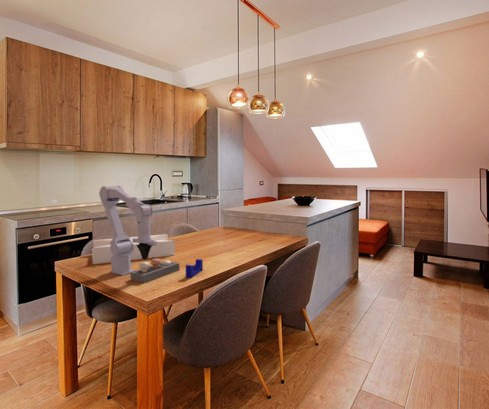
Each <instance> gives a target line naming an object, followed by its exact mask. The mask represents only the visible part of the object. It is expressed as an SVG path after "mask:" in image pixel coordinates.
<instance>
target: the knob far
mask: <svg viewBox="0 0 489 409" xmlns="http://www.w3.org/2000/svg"><path fill="white" fill-rule="evenodd" d="M161 262H162V265H163V266H168V265H171V262H172V260H168V259H166V260H162V261H161Z"/></svg>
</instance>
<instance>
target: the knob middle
mask: <svg viewBox="0 0 489 409" xmlns="http://www.w3.org/2000/svg"><path fill="white" fill-rule="evenodd" d="M160 263H161V258H158V257H155V258H152V259H150V266H152V265H153V269H154V270H157V269H158V265H159V264H160Z"/></svg>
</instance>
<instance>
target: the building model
mask: <svg viewBox="0 0 489 409" xmlns="http://www.w3.org/2000/svg"><path fill="white" fill-rule="evenodd" d="M129 237H130V239H131V241H132V239H133V238H138V236H129ZM112 239H113V238H106V239H105V238H104V239H93V240H92V241H93V242H92V243H93V244H92V245H93V246H92V248H91V255H92V256H91V258H92V264H93V265H98V264H105V263H107V264H108V263H111V258H112V256H113V254H112V253H111V245H110V242H111V240H112ZM151 239H152V240H154V241H157V245H156V246H152V247H151V249H150V251H149V255H148V259H151V258H152V257H154V258H160V257H162V256H163V257H172V256H175V255H176V251H175V248H176V247H175V244H176V243H175V240H169V234H168V233H166V234H155V235H154V234H153V235H151ZM118 243H119V242H118ZM132 243H133V241H132ZM133 245H134V249H133V251H132V254H130V258H131V261H134V260H135V261H136V260H143V259H142V256H141V253H140V251H139V249H138V247H137V245H139V243H133ZM171 255H172V256H171ZM163 257H162V258H163ZM152 259H153V258H152Z"/></svg>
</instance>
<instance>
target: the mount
mask: <svg viewBox="0 0 489 409" xmlns="http://www.w3.org/2000/svg"><path fill="white" fill-rule="evenodd" d="M178 271H180V263H179V262H174V261H171V265H168V266H163V265H162V261H160V264H159V265H158V269H157V270H154V269H153V265H149V268H147V273H145V274H143V273H142V269H140V268H139V269H136V270H135V271H133V272H130V273H129V274H130V276H129V277H130V281H133V282H134V281H135V282H138V283H141V284H145V283H148V282H150V281H151V282H152V281H153V280H156V279H159V278H162V277H164V276H167V275H169V274H173V273H176V272H178Z"/></svg>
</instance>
